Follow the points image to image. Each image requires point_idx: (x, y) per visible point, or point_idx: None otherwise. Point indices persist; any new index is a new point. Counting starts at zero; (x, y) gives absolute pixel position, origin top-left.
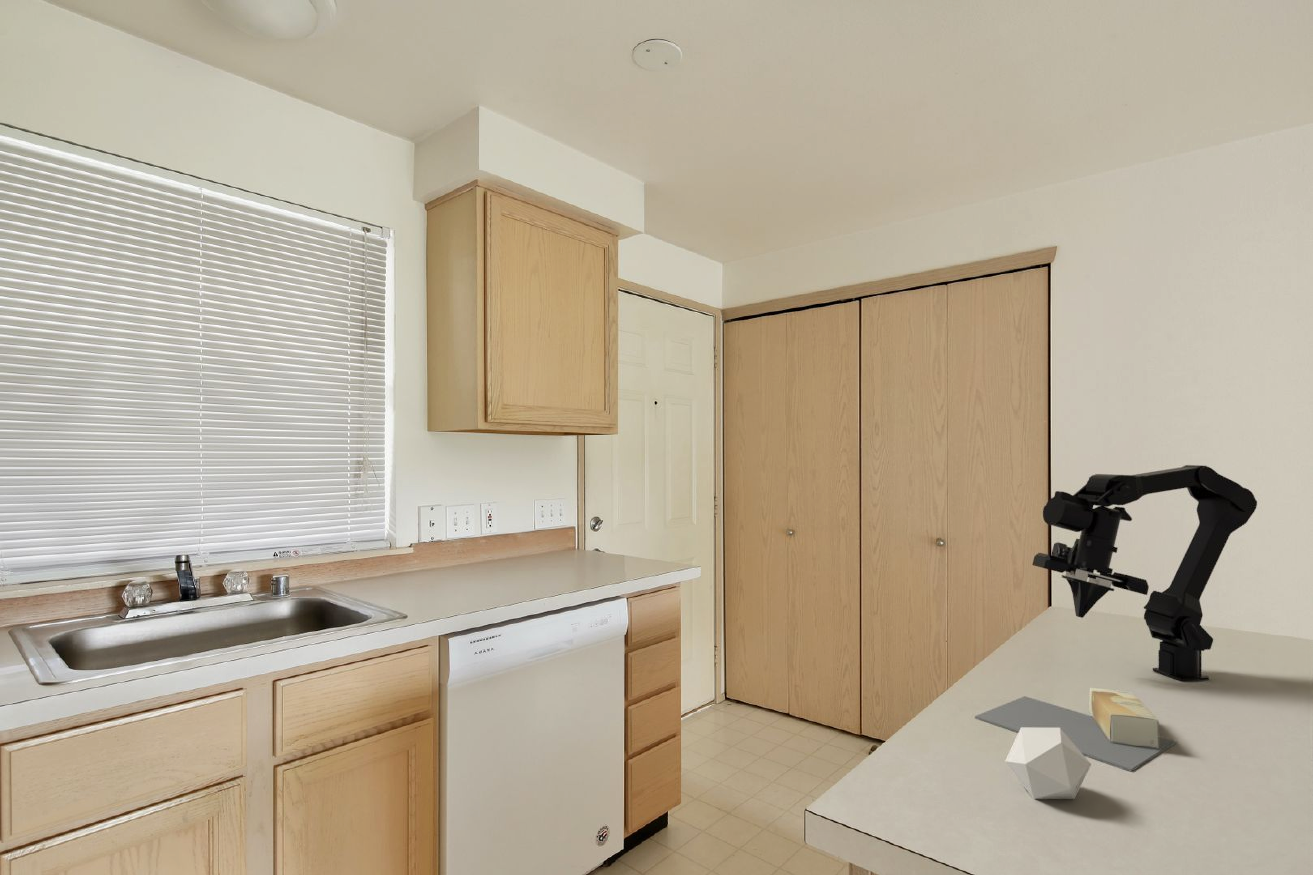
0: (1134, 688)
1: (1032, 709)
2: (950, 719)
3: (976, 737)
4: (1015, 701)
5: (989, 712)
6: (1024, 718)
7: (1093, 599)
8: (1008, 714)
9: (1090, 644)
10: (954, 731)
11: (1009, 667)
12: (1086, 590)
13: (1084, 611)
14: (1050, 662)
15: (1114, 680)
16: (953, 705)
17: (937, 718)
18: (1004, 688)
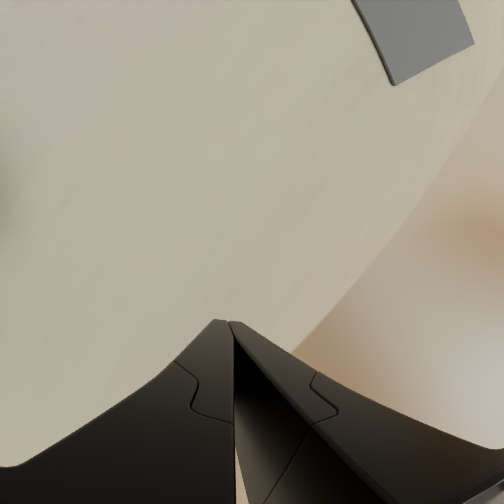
0: (58, 136)
1: (412, 28)
2: (488, 52)
3: (480, 4)
4: (419, 67)
5: (460, 45)
6: (434, 8)
7: (207, 383)
8: (445, 29)
9: (32, 456)
10: (491, 26)
11: (306, 290)
12: (359, 431)
13: (226, 332)
14: (175, 347)
15: (72, 208)
16: (477, 90)
17: (495, 61)
18: (397, 143)
